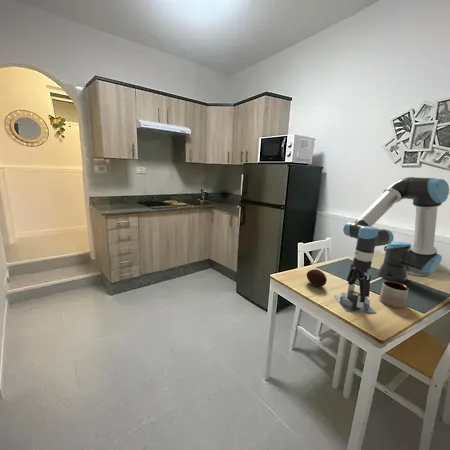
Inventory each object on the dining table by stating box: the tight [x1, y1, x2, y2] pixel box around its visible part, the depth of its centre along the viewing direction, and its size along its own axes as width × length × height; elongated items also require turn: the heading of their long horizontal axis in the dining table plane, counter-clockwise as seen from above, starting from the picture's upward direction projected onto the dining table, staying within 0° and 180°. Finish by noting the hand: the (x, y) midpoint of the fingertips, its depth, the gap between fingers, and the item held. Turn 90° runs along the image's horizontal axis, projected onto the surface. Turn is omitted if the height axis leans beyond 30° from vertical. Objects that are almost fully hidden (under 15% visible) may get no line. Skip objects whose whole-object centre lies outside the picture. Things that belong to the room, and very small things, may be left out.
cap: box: [346, 290, 360, 307], centre depth 117 cm, size 6×6×5 cm
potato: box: [306, 268, 328, 288], centre depth 134 cm, size 9×12×9 cm
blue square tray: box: [333, 292, 377, 314], centre depth 117 cm, size 14×14×3 cm
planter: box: [379, 280, 410, 309], centre depth 120 cm, size 11×11×10 cm
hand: (354, 301), depth 117 cm, fingers open, 9 cm apart
